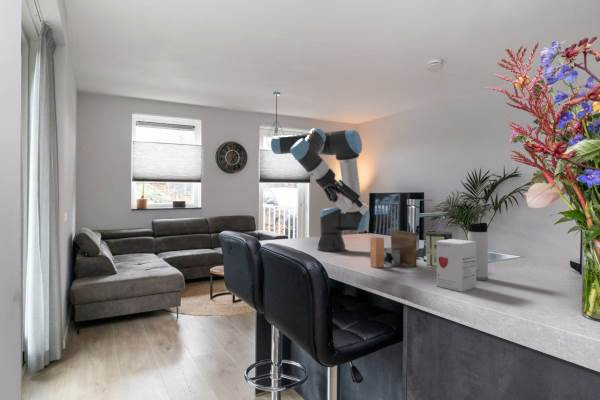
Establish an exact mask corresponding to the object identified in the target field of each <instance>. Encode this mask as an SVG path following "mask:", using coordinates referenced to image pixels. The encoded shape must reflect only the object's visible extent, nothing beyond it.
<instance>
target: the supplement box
mask: <svg viewBox="0 0 600 400" xmlns="http://www.w3.org/2000/svg"><path fill="white" fill-rule="evenodd" d="M436 287H439V288H443V289H449V290H452V291H457V292H465V291H466V292H467V291H469V290H472V289H476V288H477V280H476V241H468V239H467V240H465V239H457V238H452V239H448V240H439V241H437V268H436Z"/></svg>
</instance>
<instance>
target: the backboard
mask: <svg viewBox="0 0 600 400" xmlns="http://www.w3.org/2000/svg"><path fill="white" fill-rule="evenodd" d="M390 243H391V244H390V248H394V249H399V250H400V255H402V261H400V267H403V268H406V269H407V268H410V269H411V268H417V267H418V264H417V262H418V261H417V260H418V259H417V256H418V255H417V232H412V231H403V230H398V229H397V230H396V229H394V230H393V229H391V231H390Z"/></svg>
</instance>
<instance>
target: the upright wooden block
mask: <svg viewBox="0 0 600 400" xmlns="http://www.w3.org/2000/svg"><path fill="white" fill-rule="evenodd" d="M369 241H370V242H369V244H370V245H369V247H370V248H369V249H370V256H369V258H370V267H373V268H377V269H378V268H384V267H385V264H384V261H392V256H387V257H384V248H385V238H384V237H380V236H374V237H373V236H372V237H371V236H370V238H369ZM400 261H402V255H400Z"/></svg>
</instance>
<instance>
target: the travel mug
mask: <svg viewBox="0 0 600 400" xmlns="http://www.w3.org/2000/svg"><path fill="white" fill-rule="evenodd" d="M467 228H468V229H467V241H476V281H487V280H488V279H489V273H488V272H489V270H488V269H489V267H488V265H489V263H488V259H489V258H488V257H489V253H488V252H489V250H488V247H489V246H488V242H489V241H488V239H489V238H488V223H487V222H479V223H469V224H467Z"/></svg>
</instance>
